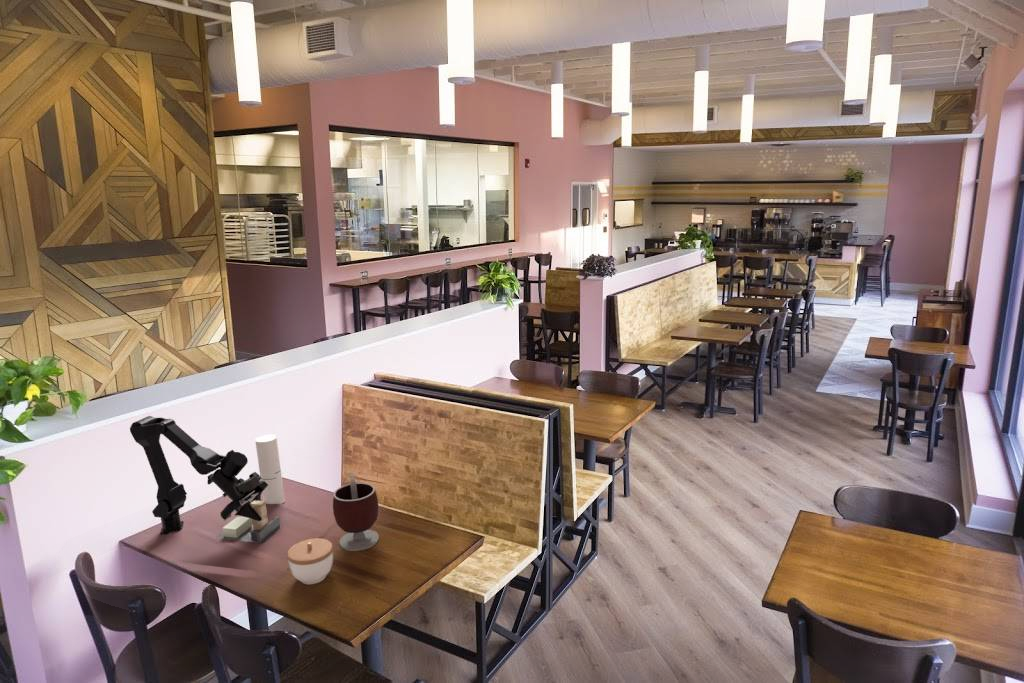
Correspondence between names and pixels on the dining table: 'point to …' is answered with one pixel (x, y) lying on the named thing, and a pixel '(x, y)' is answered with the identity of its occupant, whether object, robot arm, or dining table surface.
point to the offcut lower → (238, 532)
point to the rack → (256, 533)
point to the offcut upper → (236, 525)
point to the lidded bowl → (311, 560)
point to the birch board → (261, 511)
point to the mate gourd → (356, 514)
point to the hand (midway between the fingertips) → (263, 518)
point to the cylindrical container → (270, 469)
